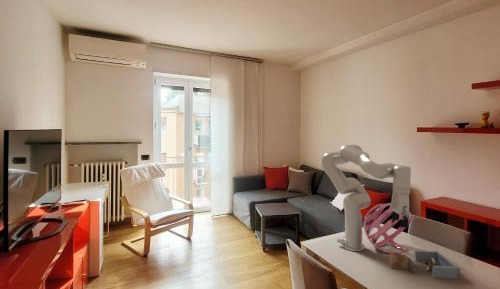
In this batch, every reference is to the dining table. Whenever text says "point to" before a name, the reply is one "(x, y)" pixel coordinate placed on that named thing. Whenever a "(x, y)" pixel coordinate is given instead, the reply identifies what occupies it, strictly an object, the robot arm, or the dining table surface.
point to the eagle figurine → (429, 263)
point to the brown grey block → (402, 262)
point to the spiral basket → (383, 227)
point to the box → (446, 266)
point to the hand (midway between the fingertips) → (399, 223)
